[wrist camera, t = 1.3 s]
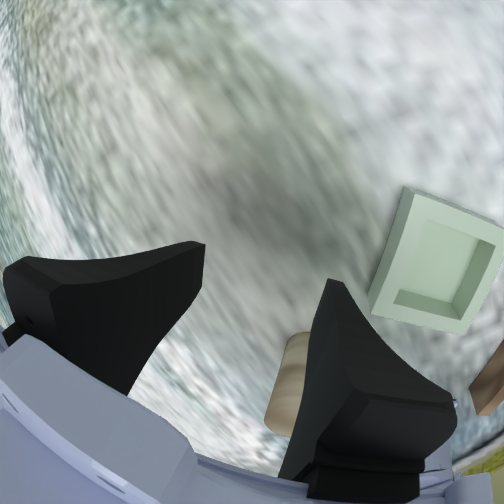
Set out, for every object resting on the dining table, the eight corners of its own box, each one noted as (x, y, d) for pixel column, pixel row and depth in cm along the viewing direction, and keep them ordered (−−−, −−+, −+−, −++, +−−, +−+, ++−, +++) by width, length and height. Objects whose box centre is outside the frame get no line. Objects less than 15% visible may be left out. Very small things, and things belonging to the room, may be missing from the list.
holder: (453, 314, 19) (463, 335, 16) (367, 291, 20) (370, 313, 18) (493, 221, 15) (512, 234, 13) (403, 184, 17) (414, 193, 14)
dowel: (323, 370, 24) (311, 442, 17) (281, 359, 25) (259, 429, 18) (337, 338, 22) (331, 415, 15) (292, 326, 23) (270, 401, 16)
